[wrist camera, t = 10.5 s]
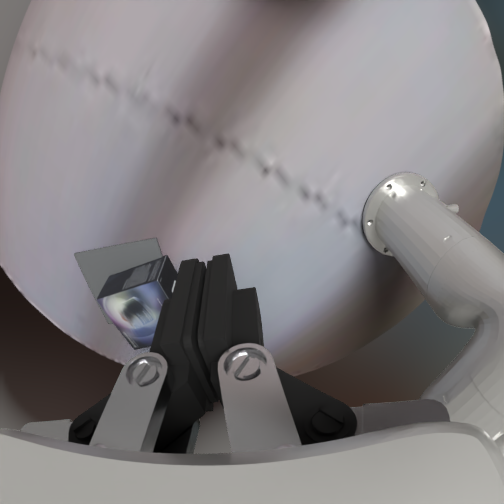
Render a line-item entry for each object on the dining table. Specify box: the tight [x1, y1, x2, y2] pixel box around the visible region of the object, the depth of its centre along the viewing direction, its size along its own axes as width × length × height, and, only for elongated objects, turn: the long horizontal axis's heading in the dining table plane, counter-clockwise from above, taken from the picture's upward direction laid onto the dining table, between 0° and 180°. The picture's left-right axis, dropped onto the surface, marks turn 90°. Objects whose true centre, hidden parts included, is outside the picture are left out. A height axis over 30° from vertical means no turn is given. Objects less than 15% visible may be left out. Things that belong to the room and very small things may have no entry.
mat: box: [74, 238, 163, 324], centre depth 43 cm, size 14×14×1 cm
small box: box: [97, 255, 178, 350], centre depth 41 cm, size 11×6×10 cm
